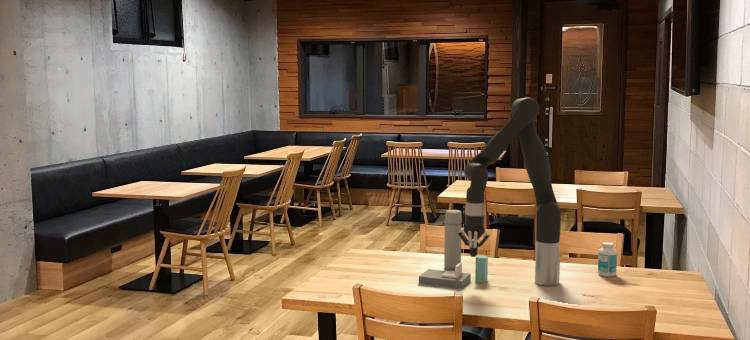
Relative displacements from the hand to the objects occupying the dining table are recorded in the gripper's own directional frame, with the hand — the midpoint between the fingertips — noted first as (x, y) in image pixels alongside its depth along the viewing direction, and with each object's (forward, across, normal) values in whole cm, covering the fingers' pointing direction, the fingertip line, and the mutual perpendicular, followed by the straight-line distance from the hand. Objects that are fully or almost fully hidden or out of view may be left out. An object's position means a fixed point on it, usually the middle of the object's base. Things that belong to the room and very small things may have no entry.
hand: (473, 256), depth 294 cm
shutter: (+9, +9, 0) cm, 12 cm away
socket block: (+12, +12, 0) cm, 17 cm away
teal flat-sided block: (+12, -1, -8) cm, 14 cm away
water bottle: (+12, +16, -23) cm, 30 cm away
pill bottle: (+11, -47, -37) cm, 61 cm away
